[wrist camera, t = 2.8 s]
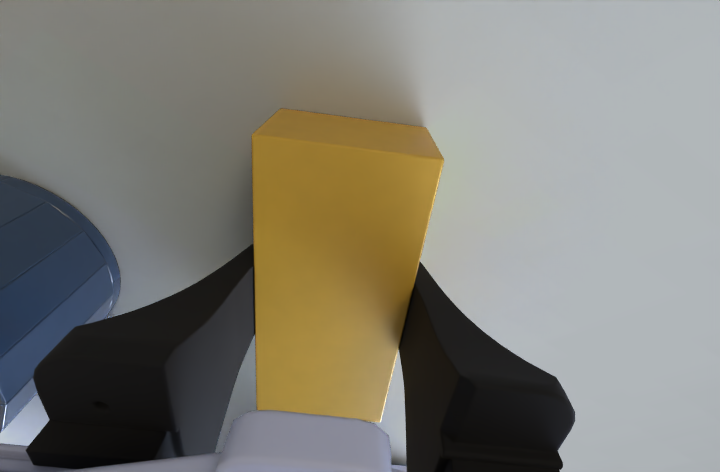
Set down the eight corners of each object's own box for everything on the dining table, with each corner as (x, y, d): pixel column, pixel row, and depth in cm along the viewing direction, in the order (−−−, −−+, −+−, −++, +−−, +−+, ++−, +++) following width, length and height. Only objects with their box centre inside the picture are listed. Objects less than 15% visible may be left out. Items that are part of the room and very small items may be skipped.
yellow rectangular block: (379, 356, 18) (380, 423, 15) (275, 345, 18) (256, 410, 15) (426, 127, 13) (445, 158, 10) (279, 107, 12) (250, 133, 9)
